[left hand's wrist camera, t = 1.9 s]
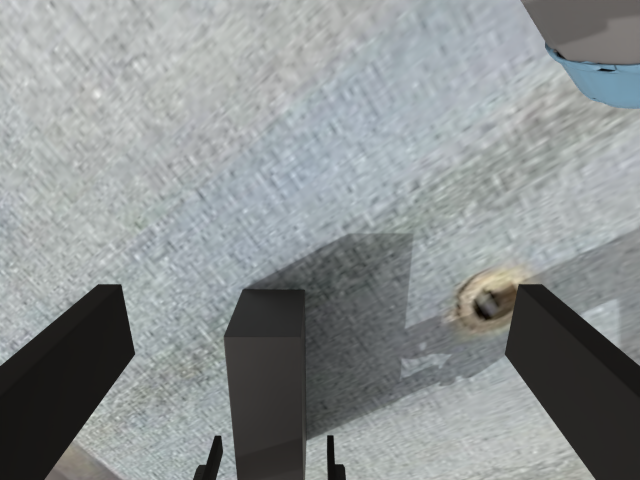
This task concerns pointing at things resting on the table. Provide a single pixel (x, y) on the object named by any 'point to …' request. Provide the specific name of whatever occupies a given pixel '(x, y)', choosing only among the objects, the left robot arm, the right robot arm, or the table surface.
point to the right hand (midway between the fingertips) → (274, 443)
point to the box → (268, 384)
